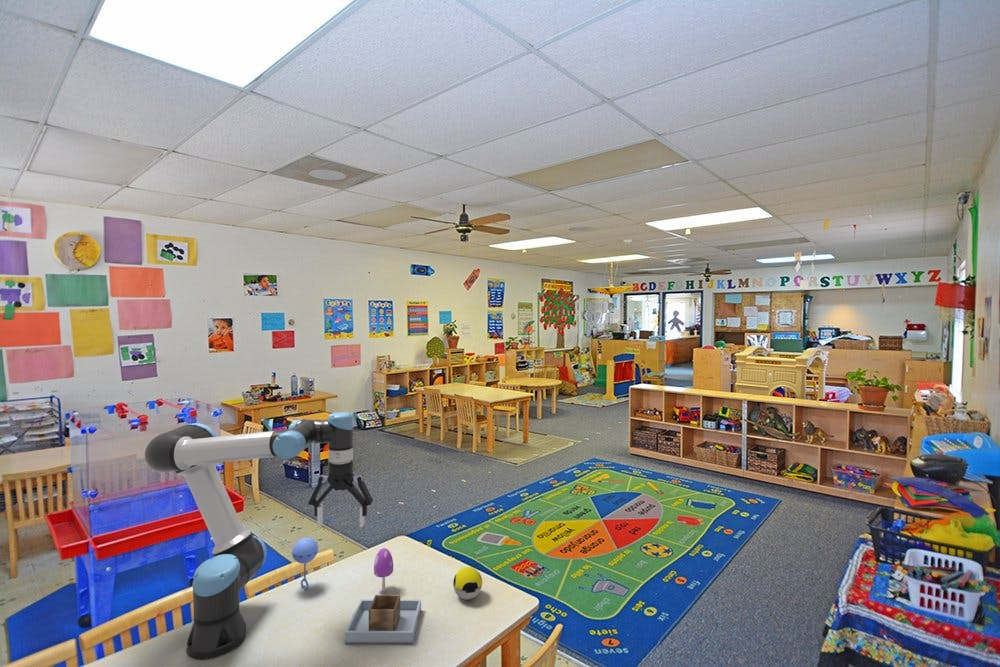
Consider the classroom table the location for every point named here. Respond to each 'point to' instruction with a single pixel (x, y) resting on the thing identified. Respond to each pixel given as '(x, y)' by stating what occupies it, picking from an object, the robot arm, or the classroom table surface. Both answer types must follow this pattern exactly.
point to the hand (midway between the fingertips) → (341, 525)
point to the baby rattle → (305, 554)
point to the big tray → (403, 634)
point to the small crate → (384, 613)
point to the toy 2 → (467, 583)
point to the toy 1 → (383, 565)
